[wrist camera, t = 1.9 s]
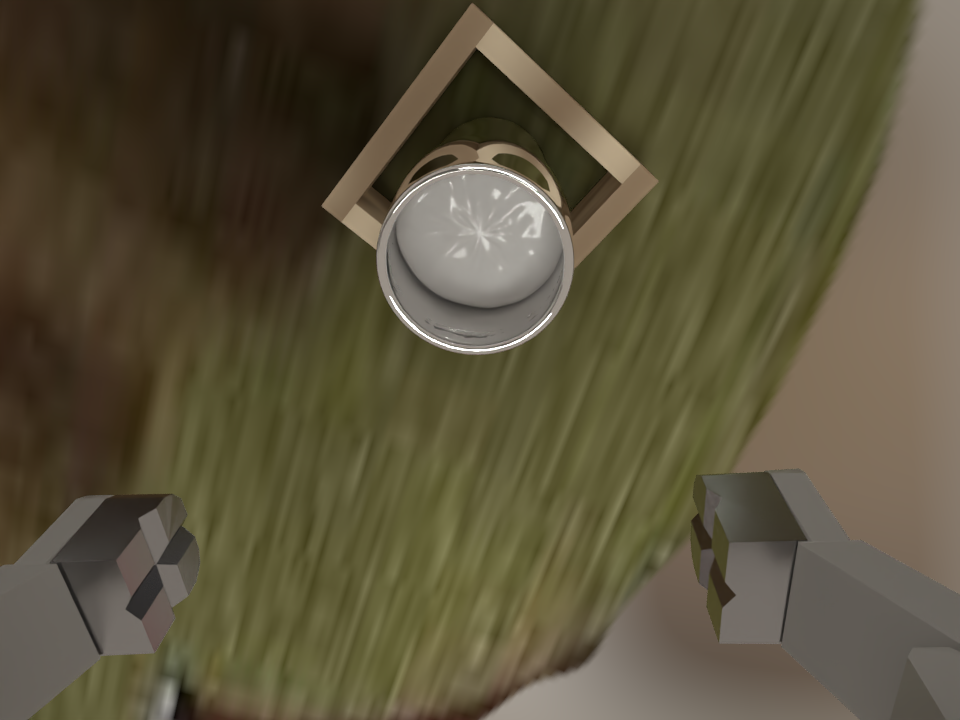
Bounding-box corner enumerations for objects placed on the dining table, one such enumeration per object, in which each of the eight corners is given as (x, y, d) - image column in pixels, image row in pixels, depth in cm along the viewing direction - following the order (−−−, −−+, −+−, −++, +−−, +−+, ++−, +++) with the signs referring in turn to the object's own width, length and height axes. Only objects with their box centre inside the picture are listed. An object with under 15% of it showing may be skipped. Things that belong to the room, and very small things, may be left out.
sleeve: (340, 188, 36) (321, 205, 32) (476, 6, 32) (471, 2, 28) (500, 318, 39) (498, 347, 35) (643, 165, 35) (658, 181, 31)
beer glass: (460, 81, 33) (424, 114, 20) (580, 149, 35) (622, 223, 21) (402, 204, 36) (337, 306, 23) (515, 262, 37) (516, 392, 24)
